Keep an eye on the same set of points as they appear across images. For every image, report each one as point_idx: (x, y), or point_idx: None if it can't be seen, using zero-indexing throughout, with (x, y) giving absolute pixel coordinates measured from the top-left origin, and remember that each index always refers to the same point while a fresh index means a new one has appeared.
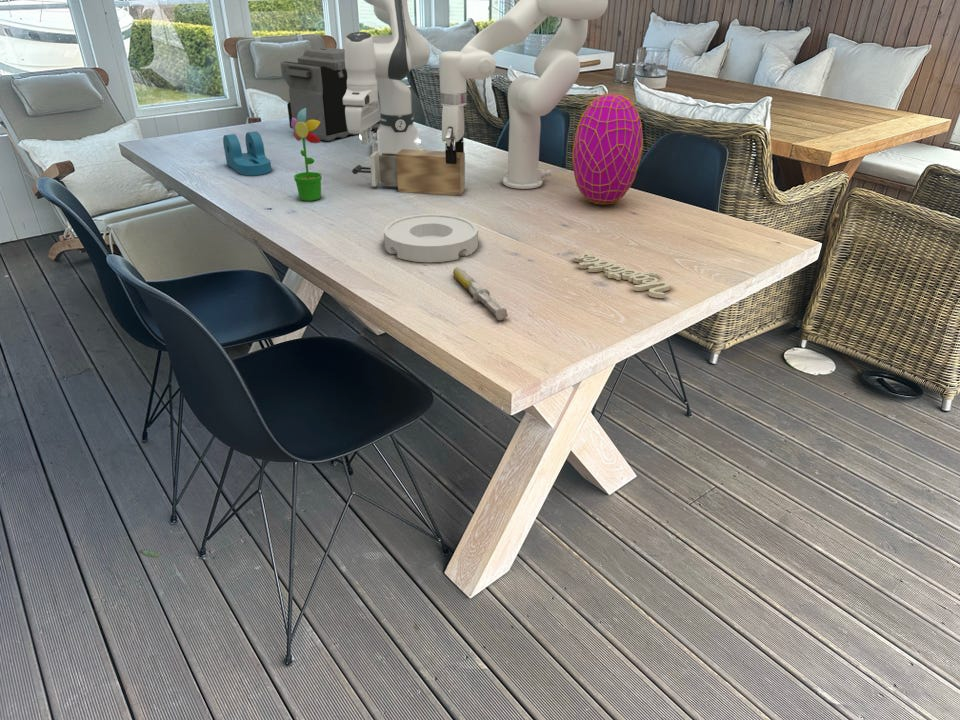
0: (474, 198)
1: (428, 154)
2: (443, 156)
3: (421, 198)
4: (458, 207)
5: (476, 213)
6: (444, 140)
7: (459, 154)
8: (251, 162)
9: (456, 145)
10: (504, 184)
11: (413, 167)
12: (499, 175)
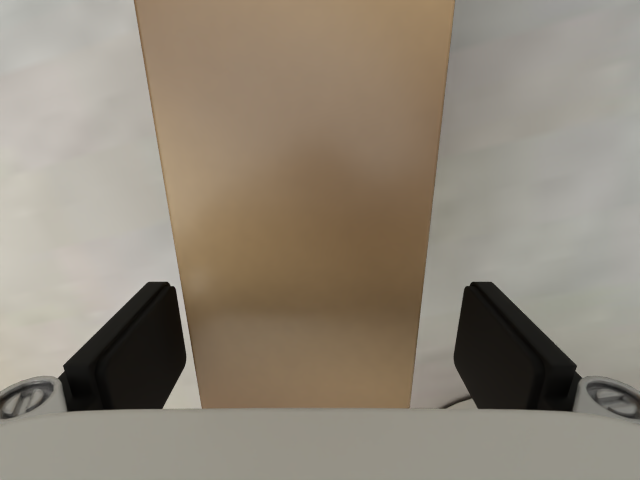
0: None
1: (226, 49)
2: (196, 264)
3: (142, 68)
4: (85, 290)
5: (47, 368)
6: (155, 409)
7: (327, 387)
8: None
9: (507, 374)
10: (450, 407)
11: None
12: (618, 362)
